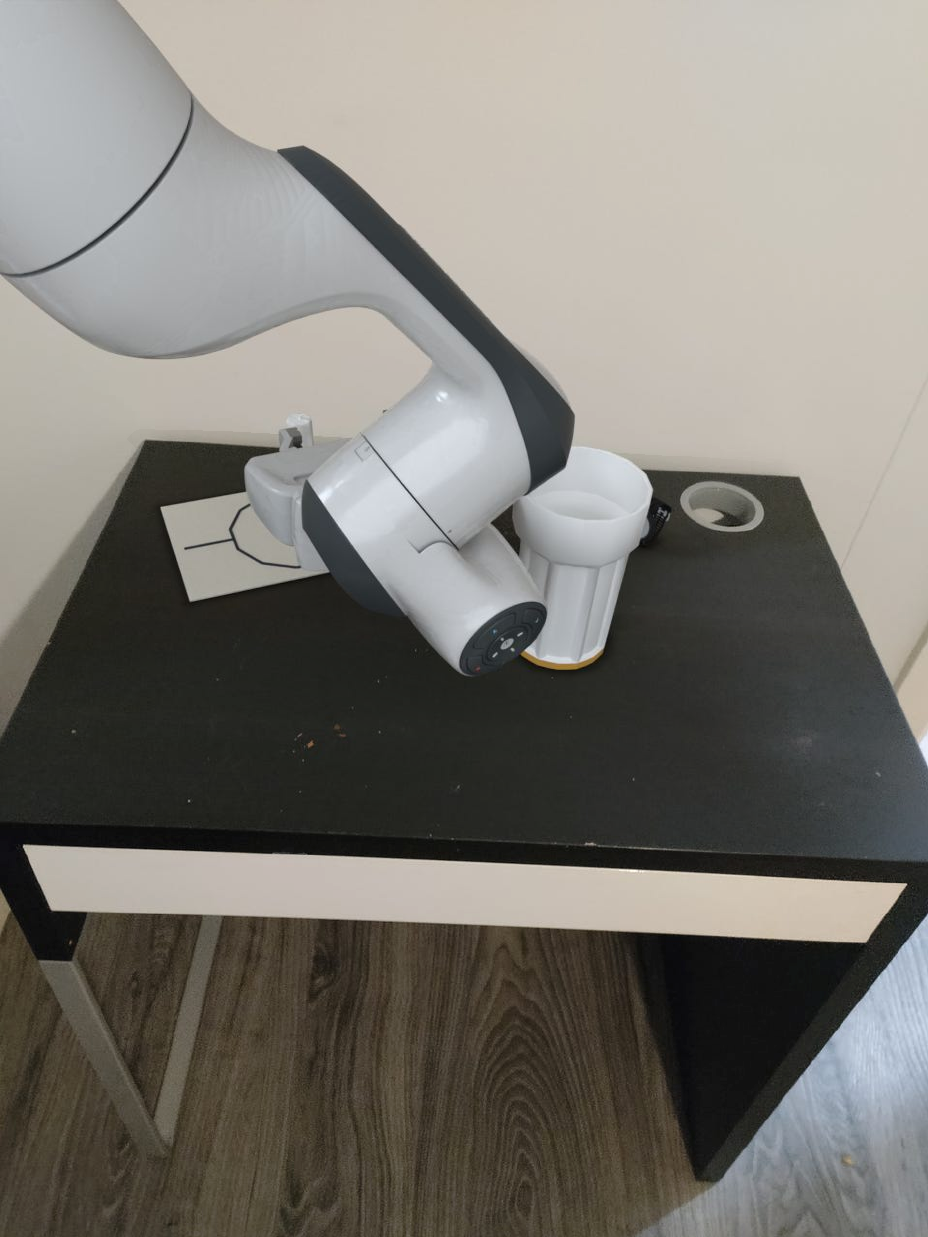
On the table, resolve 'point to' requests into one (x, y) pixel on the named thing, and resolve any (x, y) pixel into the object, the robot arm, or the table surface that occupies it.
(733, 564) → the table surface
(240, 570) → the sketch sheet
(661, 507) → the smartwatch
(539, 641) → the cup
